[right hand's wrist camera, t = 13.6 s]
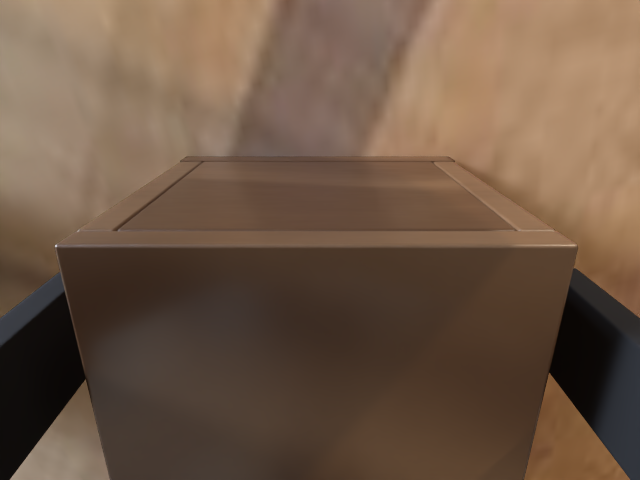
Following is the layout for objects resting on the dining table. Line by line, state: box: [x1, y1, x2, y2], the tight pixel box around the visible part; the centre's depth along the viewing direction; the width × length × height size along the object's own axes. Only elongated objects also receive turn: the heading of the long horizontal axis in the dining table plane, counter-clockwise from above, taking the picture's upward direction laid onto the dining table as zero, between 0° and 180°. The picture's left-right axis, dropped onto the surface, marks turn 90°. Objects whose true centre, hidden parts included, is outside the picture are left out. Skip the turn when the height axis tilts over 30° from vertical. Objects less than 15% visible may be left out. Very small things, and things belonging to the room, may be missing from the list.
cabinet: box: [55, 157, 578, 480], centre depth 15 cm, size 17×10×9 cm, turn 0°
